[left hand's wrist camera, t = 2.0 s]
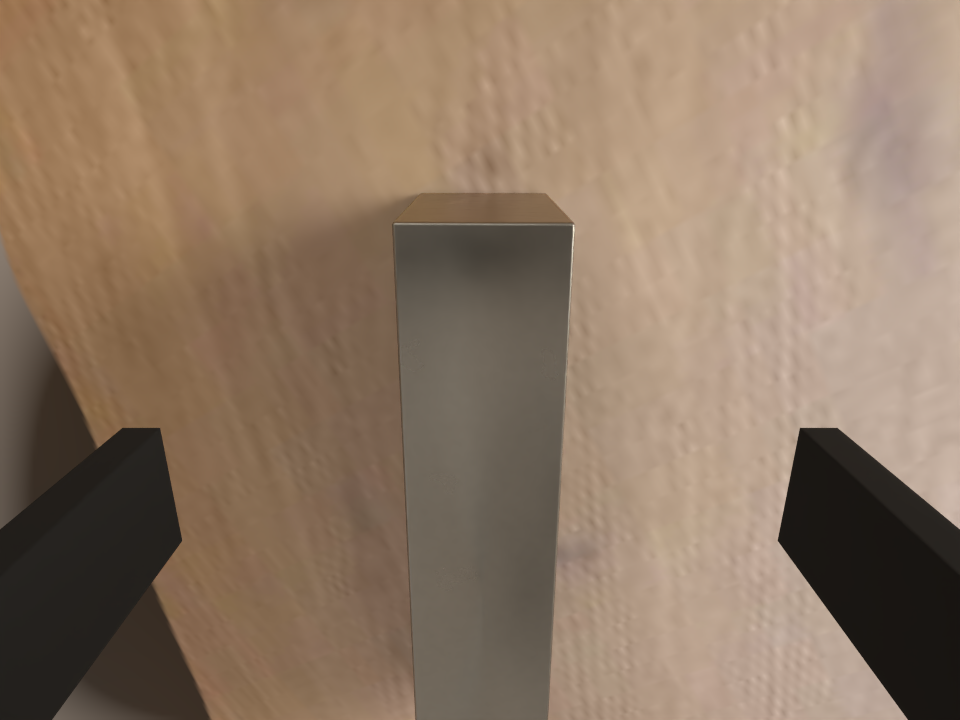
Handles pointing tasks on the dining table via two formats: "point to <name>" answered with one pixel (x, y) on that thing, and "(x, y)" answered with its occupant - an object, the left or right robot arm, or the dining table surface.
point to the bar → (482, 444)
